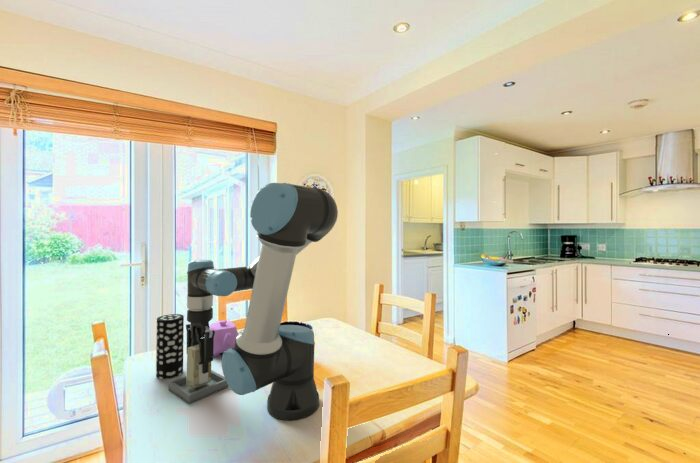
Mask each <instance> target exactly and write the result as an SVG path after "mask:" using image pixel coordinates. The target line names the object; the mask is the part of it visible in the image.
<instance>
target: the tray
mask: <svg viewBox="0 0 700 463" xmlns="http://www.w3.org/2000/svg"><path fill="white" fill-rule="evenodd" d="M227 388H230V387H229V386H228V384H227V382H226V380H225V377H224V375H223V374H222V375H221V374H220V373H217V372H215V371H214V370H212V369H211V382H209V383H207V384H204V385H202V386H199V387H197V388H195V389H193V388H191V387H189V386H187V385H186V375H184V376H182V377H180V378H177V379H174V380H172V381H169V382H168V391H170V392H171V393H172V394H174V395H175V396H177V397H178V398H180V399H181V400H183V402H186V403H187V404H192V403H195V402H197V401H199V400H202V399H205V398H206V397H209V396H211V395H213V394H216V393H218V392H220V391H222V390H224V389H227Z"/></svg>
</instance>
